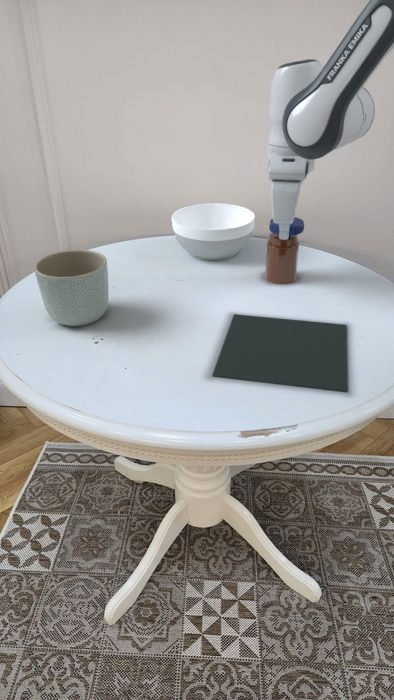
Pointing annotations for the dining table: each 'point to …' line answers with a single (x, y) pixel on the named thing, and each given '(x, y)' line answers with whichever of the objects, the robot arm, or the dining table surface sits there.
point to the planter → (74, 286)
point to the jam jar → (281, 259)
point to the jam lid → (294, 228)
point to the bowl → (213, 229)
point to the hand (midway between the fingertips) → (285, 231)
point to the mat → (285, 353)
